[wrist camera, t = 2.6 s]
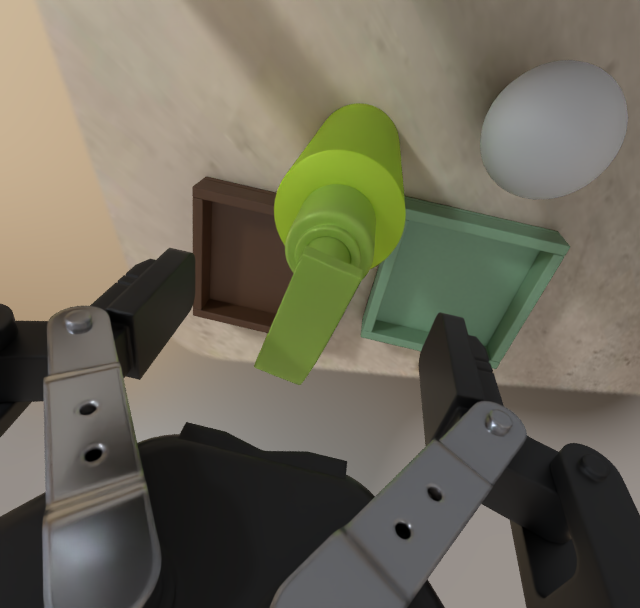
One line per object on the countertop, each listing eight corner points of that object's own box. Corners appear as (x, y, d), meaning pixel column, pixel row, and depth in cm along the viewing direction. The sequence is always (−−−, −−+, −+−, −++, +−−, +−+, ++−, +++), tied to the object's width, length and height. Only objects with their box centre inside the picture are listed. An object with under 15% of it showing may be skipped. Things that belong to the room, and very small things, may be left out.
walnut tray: (205, 176, 31) (192, 186, 29) (355, 210, 31) (352, 224, 29) (203, 299, 38) (192, 315, 36) (326, 328, 38) (322, 346, 36)
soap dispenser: (300, 182, 30) (196, 356, 14) (336, 88, 27) (250, 175, 10) (369, 214, 31) (348, 416, 15) (415, 126, 27) (453, 267, 11)
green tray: (400, 194, 30) (401, 207, 28) (558, 231, 30) (571, 246, 28) (362, 319, 37) (360, 337, 35) (490, 349, 37) (496, 369, 34)
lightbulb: (529, 27, 23) (616, 23, 14) (578, 111, 25) (683, 154, 16) (439, 105, 26) (465, 143, 17) (490, 176, 28) (538, 243, 19)
